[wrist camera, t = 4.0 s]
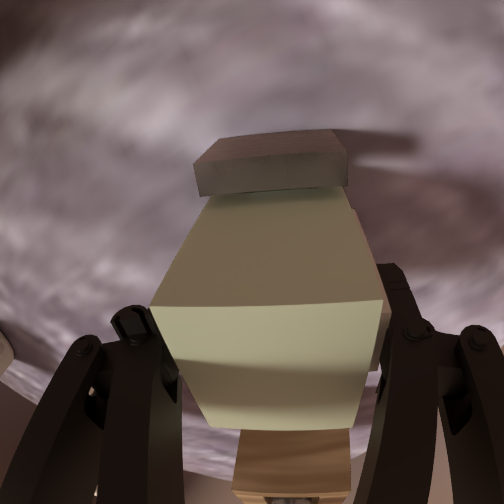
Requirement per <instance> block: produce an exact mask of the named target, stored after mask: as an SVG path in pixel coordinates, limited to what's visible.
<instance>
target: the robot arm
mask: <svg viewBox="0 0 504 504" xmlns="http://www.w3.org/2000/svg"><path fill="white" fill-rule="evenodd" d="M352 211H353V214H354V216H355V219H356V222H357V224H358V227H359V230H360V232H361V235H362V238H363V240H364V243H365V246H366V249H367V251H368V254H369V257H370V260H371V263H372V266H373V269H374V272H375V275H376V278H377V281H378V284H379V287H380V290H381V293H382V297H383V305H382V311H381V316H380V321H379V326H378V331H377V336H376V341H375V346H374V350H373V354H372V359H371V363H370V367H369V371H368V372H370V371H377V370H378V366H379V363H380V365H381V370H382V374H381V377H380V381H379V384H378V387H377V390H376V393H378V394H377V400H376V407H375V412H374V418H373V423H372V429H371V434H370V439H369V443H368V448H367V453H366V457H365V462H364V465H363V470H362V473H361V477H360V481H359V485H358V488H357V492H356V496H355V499H354V502H353V504H427V502H428V497H429V492H430V485H431V479H432V471H433V464H434V455H435V444H436V430H437V410H438V408H439V412H440V417H441V422H442V426H443V432H444V437H445V443H446V448H447V454H448V461H449V467H450V475H451V483H452V491H453V503H454V504H504V355H503V353H502V351H501V349H500V346H499V344H498V342H497V340H496V338H495V336H494V335H493V334H492V332H491V331H490V330H488V329H487V328H485V327H483V326H480V325H470V326H467V327H465V328H464V329H463V330H462V332H461V334H460V335H453V334H446V333H441V332H438V331H436V330H435V329H434V327H433V326H432V324H431V323H430V322H429V321H427V320H425V319H424V318H422V316H421V314H420V311H419V309H418V306H417V304H416V301H415V299H414V296H413V294H412V292H411V290H410V287H409V284H408V282H407V280H406V277H405V275H404V273H403V271H402V270H401V269H400V268H399V267H398V266H397V265H395V264H394V263H389V264H375V261H374V258H373V255H372V252H371V250H370V247H369V244H368V242H367V239H366V237H365V234H364V231H363V229H362V226H361V224H360V221H359V219H358V216H357V214H356V211H355V209H352ZM110 322H111V324H112V326H113V328H114V329H115V331H116V333H117V335H118V336H119V338H120V340H119V341H115V342H109V343H104V344H102V343H101V341H100V340H99V338H98V337H97V336H94V335H85V336H82V337H80V338H78V339H77V340H76V341H74V343H73V344H72V345H71V346H70V348H69V350H68V351H67V353H66V355H65V356H64V358H63V360H62V362H61V363H60V365H59V367H58V369H57V370H56V372H55V374H54V376H53V378H52V379H51V381H50V383H49V385H48V387H47V388H46V390H45V392H44V394H43V396H42V398H41V400H40V402H39V404H38V406H37V408H36V410H35V412H34V414H33V416H32V418H31V420H30V422H29V424H28V426H27V428H26V430H25V432H24V434H23V436H22V439H21V441H20V443H19V445H18V447H17V450H16V452H15V454H14V457H13V459H12V461H11V463H10V466H9V468H8V471H7V473H6V476H5V478H4V481H3V484H2V487H1V489H0V504H91V503H92V500H93V497H94V494H95V491H96V488H97V501H96V504H185V500H184V483H183V458H182V381H181V377H180V375H179V373H178V372H179V369H178V367H177V365H176V363H175V361H174V359H173V357H172V355H171V353H170V351H169V349H168V347H167V345H166V343H165V341H164V339H163V337H162V334H161V332H160V330H159V328H158V326H157V324H156V321H155V319H154V317H153V315H152V313H151V310H150V308H148V310H147V309H146V308H145V307H144V306H141V305H131V306H127V307H124V308H123V309H121V310H119V311H118V312H117V313H116V314H115V315H114V316H113V317H112V319H111V321H110ZM91 387H92V388H93V389H94V391H93V393H92V394H91V395H89V391H90V389H91ZM97 485H98V486H97Z"/></svg>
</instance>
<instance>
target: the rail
mask: <svg viewBox="0 0 504 504" xmlns="http://www.w3.org/2000/svg"><path fill="white" fill-rule="evenodd" d="M193 167H194V171H195V176H196V181H197V185H198V190H199V195H200V197H203V196H212V195H222V194H233V193H244V192H246V193H256V192H268V191H282V190H297V189H308V188H313V187H332V186H348V173H347V150H346V149H345V147H344V146H343V145H342V143H341V142H340V140H339V139H338V138H337V136H336V135H335V134H334V132H333V131H332V130H331V129H321V130H303V131H289V132H276V133H265V134H256V135H247V136H238V137H230V138H222V139H218V140H217V141H216V142H215V143H214V144H213V145H212V146H211V147H210V148H209V149H208V150H207V151H206V152H205V153H204V154H203V155H202V156H201V157H200V158H199V159H198V160H197V161H196V162H195V163H194V164H193Z"/></svg>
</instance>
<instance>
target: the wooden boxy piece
mask: <svg viewBox="0 0 504 504" xmlns="http://www.w3.org/2000/svg"><path fill="white" fill-rule="evenodd" d="M350 466H351V464H350V438H349V428H342V429H327V430H292V431H282V430H248V429H241V433H240V439H239V445H238V451H237V457H236V463H235V469H234V475H233V481H232V487H231V491H232V492H233V493H234V494H235V495H236V496H237V497H238V498H239V499H240V500H241V501H242V502H243V503H244V504H272V497H312V504H342V502H343V501H344V500H345V498H346V497H347V496H348V494H349V493H350V492H351V467H350Z"/></svg>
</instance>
